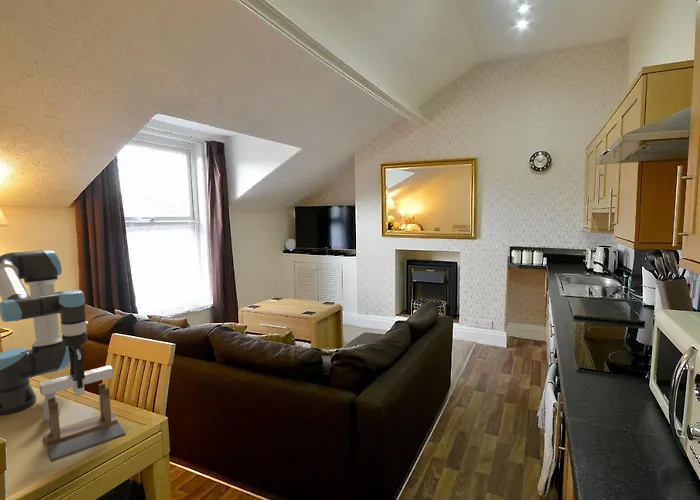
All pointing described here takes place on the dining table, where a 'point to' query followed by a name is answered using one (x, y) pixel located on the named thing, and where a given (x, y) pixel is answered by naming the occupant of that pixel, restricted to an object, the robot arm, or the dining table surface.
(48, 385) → the metal rail
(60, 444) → the rubber mat
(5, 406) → the robot arm
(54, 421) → the bracket stand
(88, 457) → the dining table surface
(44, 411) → the salt shaker
